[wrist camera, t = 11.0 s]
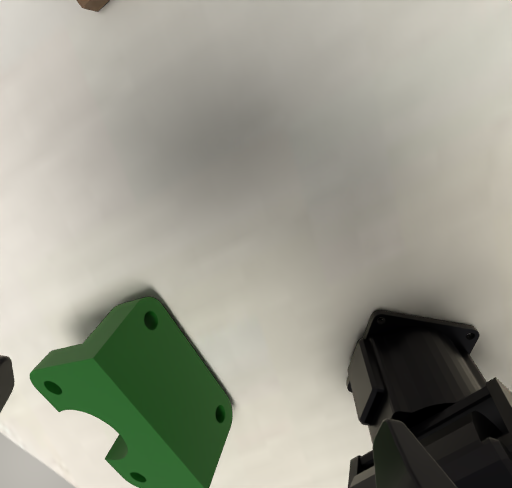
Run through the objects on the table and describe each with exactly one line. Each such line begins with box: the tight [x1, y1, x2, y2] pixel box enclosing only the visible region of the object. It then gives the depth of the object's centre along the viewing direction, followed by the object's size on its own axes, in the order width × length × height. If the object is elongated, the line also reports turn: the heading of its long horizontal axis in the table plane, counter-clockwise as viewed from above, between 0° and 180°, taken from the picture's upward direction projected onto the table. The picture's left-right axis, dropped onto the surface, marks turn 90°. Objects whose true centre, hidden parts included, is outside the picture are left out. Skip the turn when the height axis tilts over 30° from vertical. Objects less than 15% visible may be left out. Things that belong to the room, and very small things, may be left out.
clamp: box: [30, 297, 232, 488], centre depth 24 cm, size 12×6×9 cm, turn 21°
